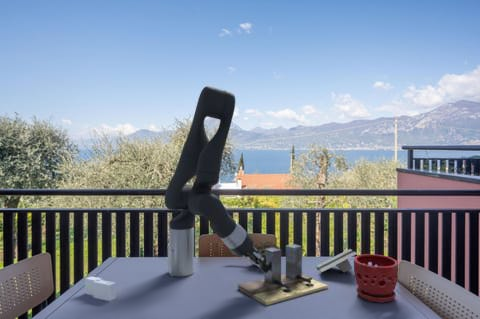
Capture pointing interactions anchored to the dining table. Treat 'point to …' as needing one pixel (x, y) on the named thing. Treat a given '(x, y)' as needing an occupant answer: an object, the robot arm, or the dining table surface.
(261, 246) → the pine cone
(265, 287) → the base
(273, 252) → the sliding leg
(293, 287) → the bolt plate
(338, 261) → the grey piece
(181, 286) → the dining table surface
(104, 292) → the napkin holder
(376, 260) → the plant pot
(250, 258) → the robot arm
